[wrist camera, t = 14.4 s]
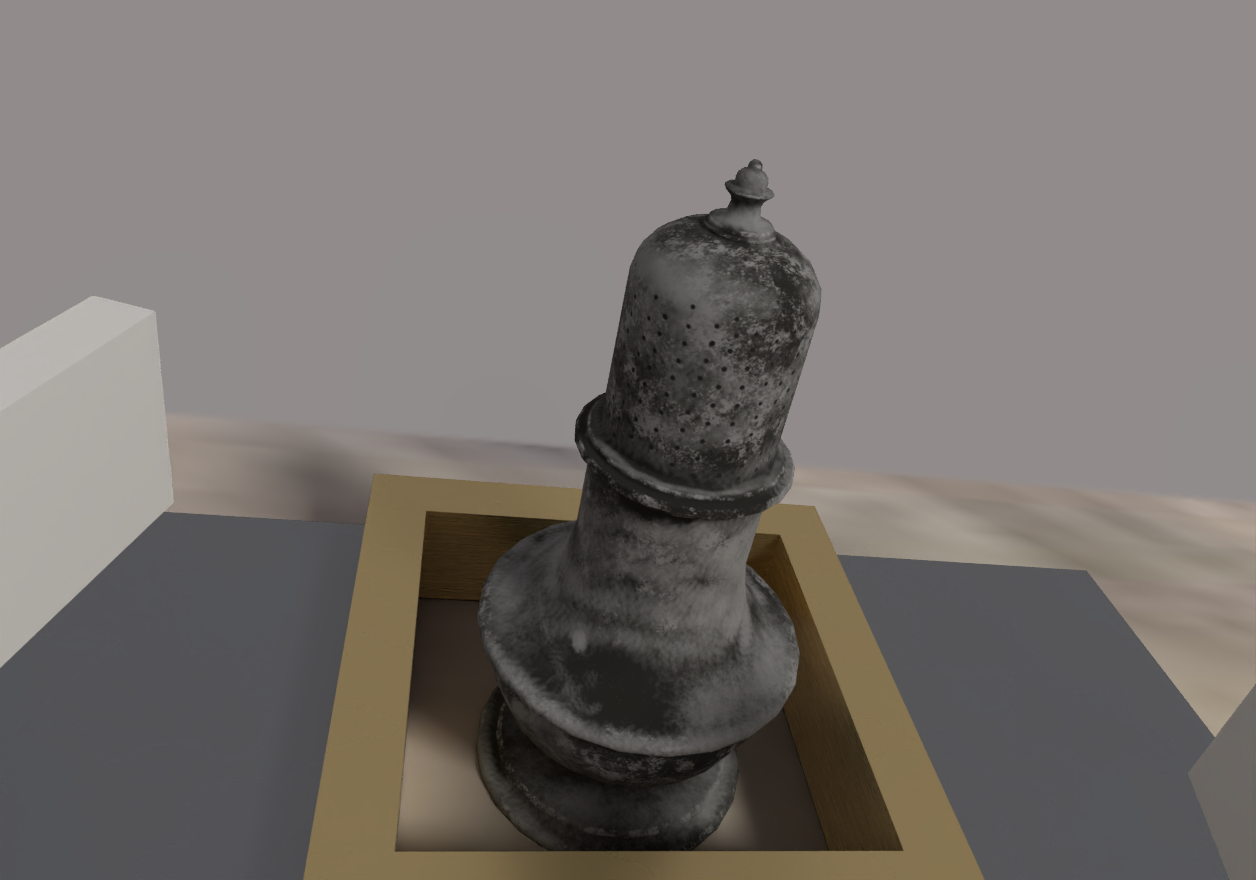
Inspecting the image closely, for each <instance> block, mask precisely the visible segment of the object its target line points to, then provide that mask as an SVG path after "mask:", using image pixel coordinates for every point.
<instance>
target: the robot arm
mask: <svg viewBox="0 0 1256 880" xmlns="http://www.w3.org/2000/svg"><path fill="white" fill-rule="evenodd" d="M172 503H174V499H173V488H172V478H171V468H170V457H169V447H168V437H167V427H166V416H165V406H164V397H163V385H162V375H161V365H160V355H159V345H158V334H157V324H156V313H155V311H152V310H148V309H144V308H140V307H136V306H133V305H129V304H125V303H121V302H116V301H113V300H109V299H105V298H101V297H97V296H91V297H90V298H88V299H86V300H84V301H83V302H81V303H79V304H77V305H75V306H74V307H72V308H70V309H69V310H67V311H65V312H63V313H61V314H60V315H58V316H56V317H54V318H53V319H51V320H49V321H48V322H46V323H44V324H42V325H40V326H39V327H37V328H35V329H33V330H32V331H30V332H28V333H26V334H25V335H23V336H21V337H20V338H18V339H16V340H14V341H13V342H11V343H9V344H7V345H5V346H4V347H2V348H0V668H1V667H2V666H3V665H4V664H5V663H6V662H7V661H8V660H9V659H10V658H11V657H12V656H13V655H14V654H15V653H16V652H17V651H18V650H19V649H21V648H22V647H23V646H24V645H25V644H26V643H27V642H28V641H29V640H30V639H31V638H32V637H33V636H34V635H35V634H36V633H37V632H38V631H39V630H40V629H41V628H43V627H44V626H45V625H46V624H47V623H48V622H49V621H50V620H51V619H52V618H53V617H54V616H55V615H56V614H57V613H58V612H59V611H60V610H61V609H62V608H63V607H65V606H66V605H67V604H68V603H69V602H70V601H71V600H72V599H73V598H74V597H75V596H76V595H77V594H78V593H79V592H80V591H81V590H82V589H83V588H84V587H85V586H87V585H88V584H89V583H90V582H91V581H92V580H93V579H94V578H95V577H96V576H97V575H98V574H99V573H100V572H101V571H102V570H103V569H104V568H105V567H106V566H107V565H109V564H110V563H111V562H112V561H113V560H114V559H115V558H116V557H117V556H118V555H119V554H120V553H121V552H122V551H123V550H124V549H125V548H126V547H127V546H128V545H130V544H131V543H132V542H133V541H134V540H135V539H136V538H137V537H138V536H139V535H140V534H141V533H142V532H143V531H144V530H145V529H146V528H147V527H148V526H149V525H150V524H152V523H153V522H154V521H155V520H156V519H157V518H158V517H159V516H160V515H161V514H162V513H163V512H164V511H165V510H166V509H167V508H168V507H169V506H170V505H171V504H172ZM1188 775H1189V778H1190V780H1191V783H1192V785H1193V788H1194V790H1195V793H1196V796H1197V798H1198V801H1199V803H1200V806H1201V808H1202V811H1203V813H1204V816H1205V818H1206V821H1207V824H1208V826H1209V829H1210V831H1211V834H1212V836H1213V839H1214V841H1215V844H1216V847H1217V849H1218V852H1219V854H1220V857H1221V859H1222V862H1223V864H1224V867H1225V870H1226V872H1227V875H1228V877H1229V880H1256V684H1255V686H1254V687H1253V688H1252V690H1251V691H1250V692H1249V693H1248V695H1247V696H1246V697H1245V699H1244V700H1243V701H1242V703H1241V704H1240V705H1239V707H1238V708H1237V709H1236V711H1235V712H1234V713H1233V714H1232V716H1231V717H1230V718H1229V720H1228V721H1227V722H1226V724H1225V725H1224V726H1223V728H1222V729H1221V730H1220V732H1219V733H1218V734H1217V736H1216V737H1215V738H1214V739H1213V741H1212V742H1211V743H1210V745H1209V746H1208V747H1207V749H1206V750H1205V751H1204V753H1203V754H1202V755H1201V757H1200V758H1199V759H1198V760H1197V762H1196V763H1195V764H1194V766H1193V767H1192V768H1191V770H1190V771H1189V772H1188Z"/></svg>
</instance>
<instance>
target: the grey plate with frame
mask: <svg viewBox="0 0 1256 880" xmlns="http://www.w3.org/2000/svg"><path fill="white" fill-rule="evenodd" d="M582 490H583V489H574V488H560V487H547V486H533V485H520V484H506V483H493V482H479V481H466V480H452V479H439V478H425V477H412V476H398V475H384V474H374V477H373V482H372V488H371V494H370V500H369V505H368V511H367V517H366V523H365V525H361V524H345V523H329V522H314V521H298V520H282V519H266V518H251V517H235V516H219V515H204V514H188V513H172V512H163V513H162V514H161V515H160V516H159V517H158V518H157V519H156V520H155V521H154V522H153V523H152V524H150V525H149V526H148V527H147V528H146V529H145V530H144V531H143V532H142V533H141V534H140V535H139V536H138V537H137V538H136V539H135V540H134V541H133V542H132V543H131V544H130V545H128V546H127V547H126V548H125V549H124V550H123V551H122V552H121V553H120V554H119V555H118V556H117V557H116V558H115V559H114V560H113V561H112V562H111V563H110V564H109V565H107V566H106V567H105V568H104V569H103V570H102V571H101V572H100V573H99V574H98V575H97V576H96V577H95V578H94V579H93V580H92V581H91V582H90V583H89V584H88V585H87V586H85V587H84V588H83V589H82V590H81V591H80V592H79V593H78V594H77V595H76V596H75V597H74V598H73V599H72V600H71V601H70V602H69V603H68V604H67V605H66V606H65V607H63V608H62V609H61V610H60V611H59V612H58V613H57V614H56V615H55V616H54V617H53V618H52V619H51V620H50V621H49V622H48V623H47V624H46V625H45V626H44V627H43V628H41V629H40V630H39V631H38V632H37V633H36V634H35V635H34V636H33V637H32V638H31V639H30V640H29V641H28V642H27V643H26V644H25V645H24V646H23V647H22V648H21V649H19V650H18V651H17V652H16V653H15V654H14V655H13V656H12V657H11V658H10V659H9V660H8V661H7V662H6V663H5V664H4V665H3V666H2V667H1V668H0V880H1229V877H1228V875H1227V872H1226V870H1225V867H1224V864H1223V862H1222V859H1221V857H1220V854H1219V852H1218V849H1217V847H1216V844H1215V841H1214V839H1213V836H1212V834H1211V831H1210V829H1209V826H1208V824H1207V821H1206V818H1205V816H1204V813H1203V811H1202V808H1201V806H1200V803H1199V801H1198V798H1197V796H1196V793H1195V790H1194V788H1193V785H1192V783H1191V780H1190V778H1189V775H1188V772H1189V771H1190V770H1191V768H1192V767H1193V766H1194V764H1195V763H1196V762H1197V760H1198V759H1199V758H1200V757H1201V755H1202V754H1203V753H1204V751H1205V750H1206V749H1207V747H1208V746H1209V745H1210V743H1211V742H1212V741H1213V739H1214V738H1215V737H1214V736H1213V734H1212V733H1211V732H1210V731H1209V729H1208V728H1207V727H1206V725H1205V724H1204V723H1203V721H1202V720H1201V719H1200V718H1199V716H1198V715H1197V714H1196V712H1195V711H1194V710H1193V708H1192V707H1191V706H1190V705H1189V703H1188V702H1187V701H1186V699H1185V698H1184V697H1183V695H1182V694H1181V693H1180V692H1179V690H1178V689H1177V688H1176V686H1175V685H1174V684H1173V682H1172V681H1171V680H1170V679H1169V677H1168V676H1167V675H1166V673H1165V672H1164V671H1163V669H1162V668H1161V667H1160V666H1159V664H1158V663H1157V662H1156V660H1155V659H1154V658H1153V656H1152V655H1151V654H1150V653H1149V651H1148V650H1147V649H1146V647H1145V646H1144V645H1143V643H1142V642H1141V641H1140V640H1139V638H1138V637H1137V636H1136V634H1135V633H1134V632H1133V630H1132V629H1131V628H1130V627H1129V625H1128V624H1127V623H1126V621H1125V620H1124V619H1123V617H1122V616H1121V615H1120V614H1119V612H1118V611H1117V610H1116V608H1115V607H1114V606H1113V604H1112V603H1111V602H1110V601H1109V599H1108V598H1107V597H1106V595H1105V594H1104V593H1103V591H1102V590H1101V589H1100V588H1099V586H1098V585H1097V584H1096V582H1095V581H1094V580H1093V578H1092V577H1091V576H1090V575H1089V573H1088V572H1087V571H1084V570H1068V569H1052V568H1037V567H1021V566H1005V565H989V564H974V563H958V562H942V561H927V560H911V559H895V558H879V557H864V556H848V555H837V554H836V552H835V550H834V548H833V546H832V543H831V541H830V539H829V537H828V535H827V532H826V530H825V528H824V526H823V524H822V521H821V519H820V517H819V515H818V513H817V510H816V508H815V506H804V505H790V504H775V505H774V506H772V507H770V508H768V509H767V510H765V511H763V512H762V514H761V517H760V520H759V524H758V527H757V530H756V533H755V536H754V539H753V542H752V546H751V549H750V552H749V555H748V558H747V561H746V564H747V565H748V566H750V567H751V568H752V569H754V570H755V572H756V573H757V574H758V575H759V576H760V577H761V578H762V579H763V580H764V581H765V582H766V583H767V584H768V586H769V587H770V588H771V589H772V590H773V591H774V592H775V593H776V594H777V596H778V598H779V599H780V601H781V603H782V605H783V607H784V608H785V610H786V612H787V614H788V615H789V617H790V619H791V621H792V623H793V625H794V630H795V634H796V639H797V643H798V648H799V652H800V656H799V663H798V670H797V677H796V684H795V686H794V688H793V690H792V692H791V694H790V695H789V697H788V699H787V700H786V702H785V704H784V706H783V708H784V711H785V714H786V717H787V721H788V724H789V727H790V730H791V733H792V736H793V739H794V742H795V746H796V749H797V752H798V755H799V758H800V761H801V764H802V767H803V770H804V774H805V777H806V780H807V783H808V786H809V789H810V792H811V795H812V799H813V802H814V805H815V808H816V811H817V814H818V817H819V820H820V824H821V827H822V830H823V833H824V836H825V839H826V842H827V845H828V849H829V851H509V852H396V845H397V834H398V823H399V812H400V801H401V790H402V779H403V768H404V757H405V746H406V735H407V724H408V713H409V702H410V691H411V680H412V669H413V658H414V647H415V636H416V625H417V614H418V603H419V597H422V598H442V599H463V600H480V598H481V592H482V587H483V583H484V582H485V580H486V578H487V577H488V575H489V573H490V572H491V570H492V568H493V567H494V565H495V564H496V562H497V560H498V559H499V558H500V557H501V556H503V555H504V554H505V553H506V552H507V551H509V550H510V549H511V548H512V547H513V546H514V545H516V544H517V543H518V542H519V541H520V540H522V539H524V538H526V537H528V536H530V535H532V534H535V533H537V532H539V531H541V530H543V529H545V528H548V527H550V526H552V525H555V524H560V523H565V522H569V521H574V520H577V516H578V511H579V506H580V500H581V495H582Z"/></svg>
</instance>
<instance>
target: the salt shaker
mask: <svg viewBox="0 0 1256 880" xmlns="http://www.w3.org/2000/svg"><path fill="white" fill-rule="evenodd" d="M725 186H726V189H727V190H728V192H729V193H730V194H731V201H730V203H729V205H728V207H727V208H720V209H715V210H713V211H711V212H710V213H709V214H696V215H691V216H686V217H684V218H680V219H677V220H675V221H672V222H669V223H667V224H665V225H663V226H661V227H659V228H658V229H656V230H655V231H654V232H653V233H652V234H651V235H650V236H648V237H647V238H646V239H645V240H644V241H643V242H642V244H641V246H640V247H639V248H638V250H637V252H636V254H635V256H634V259H633V261H632V263H631V266H630V269H629V275H628V280H627V285H626V291H625V295H624V301H623V306H622V311H621V316H620V322H619V327H618V332H617V337H616V343H615V348H614V353H613V358H612V363H611V368H610V374H609V379H608V384H607V389H606V393H603V394H601V395H599V396H598V397H596V398H595V399H593V400H592V401H591V402H589V403H588V404H586V405H585V406H584V407H583V409H582V411H581V413H580V414H579V416H578V418H577V419H576V425H575V442H576V445H577V447H578V450H579V452H580V455H581V457H582V459H583V460H584V461H585V462H586V463H587V469H586V474H585V479H584V485H583V490H582V495H581V500H580V506H579V511H578V516H577V520H574V521H569V522H565V523H560V524H555V525H552V526H550V527H548V528H545V529H543V530H541V531H539V532H537V533H535V534H532V535H530V536H528V537H526V538H524V539H522V540H520V541H519V542H518V543H517V544H516V545H514V546H513V547H512V548H511V549H510V550H509V551H507V552H506V553H505V554H504V555H503V556H501V557H500V558H499V559H498V560H497V562H496V564H495V565H494V567H493V568H492V570H491V572H490V573H489V575H488V577H487V578H486V580H485V582H484V583H483V587H482V592H481V598H480V603H479V609H478V615H477V619H478V625H479V630H480V635H481V640H482V645H483V650H484V652H485V653H486V655H487V657H488V659H489V660H490V662H491V664H492V666H493V667H494V671H495V676H496V681H497V683H498V686H497V687H496V688H495V689H494V691H493V693H492V695H491V696H490V698H489V700H488V702H487V704H486V706H485V708H484V710H483V712H482V714H481V719H480V725H479V732H478V738H477V745H476V748H477V754H478V760H479V766H480V772H481V777H482V779H483V781H484V783H485V785H486V787H487V789H488V791H489V793H490V795H491V796H492V798H493V800H494V802H495V804H496V806H497V807H498V808H499V809H500V810H501V811H502V812H503V814H504V815H505V816H506V817H507V818H508V819H509V820H510V821H511V822H512V823H513V824H514V826H515V827H516V828H517V829H518V830H519V831H520V832H522V833H523V834H525V835H526V836H528V837H529V838H531V839H532V840H534V841H535V842H537V843H538V844H540V845H542V846H543V847H545V848H546V849H548V850H549V851H691V850H693V849H695V848H696V847H697V846H698V845H699V844H700V843H702V842H703V841H704V840H705V839H706V838H707V837H708V836H710V835H711V834H712V833H713V832H714V831H715V830H716V829H717V828H718V827H719V825H720V823H721V821H722V820H723V818H724V816H725V814H726V813H727V811H728V809H729V808H730V806H731V804H732V802H733V799H734V794H735V789H736V784H737V778H738V773H739V769H738V761H737V754H736V748H737V747H738V746H739V745H741V744H742V743H743V742H744V741H746V740H747V739H748V738H750V737H751V736H753V735H754V734H755V733H756V732H758V731H759V730H760V729H761V728H762V727H764V726H765V725H766V724H767V723H769V722H770V721H771V720H772V719H774V718H775V717H776V716H777V715H778V714H779V712H780V711H781V709H782V707H783V706H784V704H785V702H786V700H787V699H788V697H789V695H790V694H791V692H792V690H793V688H794V686H795V684H796V677H797V670H798V663H799V656H800V652H799V648H798V643H797V639H796V634H795V630H794V625H793V623H792V621H791V619H790V617H789V615H788V614H787V612H786V610H785V608H784V607H783V605H782V603H781V601H780V599H779V598H778V596H777V594H776V593H775V592H774V591H773V590H772V589H771V588H770V587H769V586H768V584H767V583H766V582H765V581H764V580H763V579H762V578H761V577H760V576H759V575H758V574H757V573H756V572H755V570H754V569H752V568H751V567H750V566H748V565H747V564H746V561H747V558H748V555H749V552H750V549H751V546H752V542H753V539H754V536H755V533H756V530H757V527H758V524H759V520H760V517H761V514H762V512H763V511H765V510H767V509H768V508H770V507H772V506H774V505H775V504H777V503H779V502H780V501H781V500H782V499H783V497H784V496H785V495H786V494H787V492H788V491H789V490H790V488H791V486H792V482H793V476H794V470H795V467H794V464H793V460H792V457H791V453H790V451H789V449H788V448H787V447H786V445H785V444H784V442H783V441H782V440H781V435H782V432H783V428H784V425H785V422H786V419H787V416H788V413H789V409H790V406H791V403H792V400H793V397H794V394H795V390H796V387H797V384H798V381H799V378H800V375H801V371H802V368H803V365H804V362H805V359H806V356H807V352H808V349H809V346H810V343H811V340H812V337H813V333H814V330H815V327H816V324H817V321H818V317H819V311H820V301H821V287H820V285H819V282H818V280H817V277H816V274H815V272H814V269H813V267H812V265H811V263H810V261H809V260H808V259H807V258H806V257H805V256H804V255H803V254H802V253H801V252H800V250H799V249H798V248H797V247H796V246H795V245H794V244H793V243H792V242H790V240H789V239H787V238H786V237H784V236H783V235H781V234H779V233H778V232H776V231H775V230H774V227H773V225H772V224H771V223H770V222H769V221H768V220H766V219H765V218H763V217H761V216H760V215H761V206H762V204H763V203H764V202H765V201H767V200H769V199H771V198H773V197H774V193H773V191H772V190H770V189H769V188H767V186H768V177H767V175H766V174H765V172H763V171H762V163H761V162H760V161H759V160H756V159H754V160H752V161H750V163H749V165H748V167H744V168H742V169H741V170H739V171H738V173H737V175H736V178H735V180H729V181H727V182H725Z"/></svg>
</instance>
